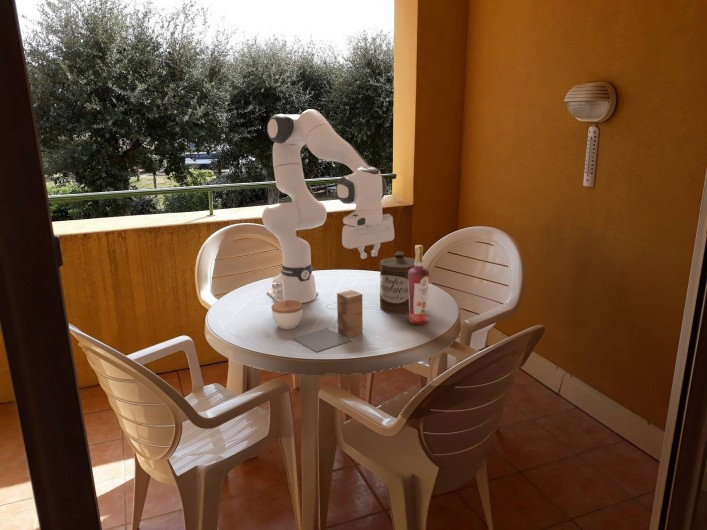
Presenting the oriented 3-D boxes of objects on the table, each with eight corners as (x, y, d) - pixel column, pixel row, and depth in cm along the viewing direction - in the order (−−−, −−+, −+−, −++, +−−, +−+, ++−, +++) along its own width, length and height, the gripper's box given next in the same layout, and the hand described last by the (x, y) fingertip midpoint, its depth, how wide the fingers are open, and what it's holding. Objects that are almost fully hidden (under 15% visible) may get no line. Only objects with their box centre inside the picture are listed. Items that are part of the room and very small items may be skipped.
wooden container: (373, 310, 210) (373, 254, 204) (388, 299, 223) (388, 245, 217) (411, 316, 204) (412, 258, 198) (423, 303, 217) (425, 249, 211)
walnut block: (337, 332, 190) (337, 293, 186) (352, 327, 194) (351, 289, 190) (348, 337, 185) (348, 297, 182) (363, 333, 189) (362, 293, 185)
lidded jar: (288, 318, 204) (287, 293, 201) (309, 324, 197) (308, 299, 194) (266, 326, 196) (264, 301, 193) (287, 334, 189) (286, 308, 186)
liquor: (416, 328, 193) (418, 249, 185) (402, 322, 198) (403, 245, 191) (432, 323, 197) (434, 246, 189) (418, 317, 203) (419, 242, 195)
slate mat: (292, 338, 185) (292, 338, 185) (326, 328, 193) (326, 327, 193) (316, 352, 174) (316, 351, 174) (351, 341, 183) (351, 340, 183)
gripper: (386, 211, 193) (386, 250, 196) (338, 219, 181) (339, 260, 184) (398, 214, 188) (398, 254, 192) (350, 222, 176) (351, 264, 179)
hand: (369, 257), depth 188 cm, fingers open, 3 cm apart
